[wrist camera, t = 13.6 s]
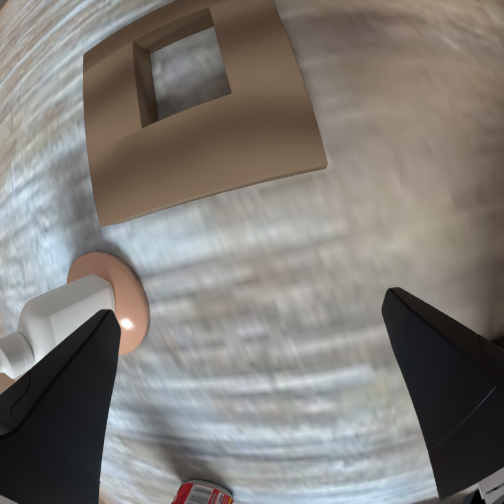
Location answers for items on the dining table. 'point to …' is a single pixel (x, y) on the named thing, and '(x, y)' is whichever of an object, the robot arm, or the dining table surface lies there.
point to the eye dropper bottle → (53, 321)
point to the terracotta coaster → (118, 294)
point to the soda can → (202, 493)
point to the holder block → (195, 112)
